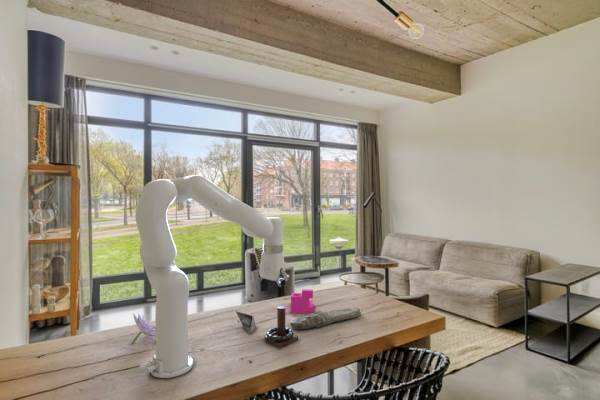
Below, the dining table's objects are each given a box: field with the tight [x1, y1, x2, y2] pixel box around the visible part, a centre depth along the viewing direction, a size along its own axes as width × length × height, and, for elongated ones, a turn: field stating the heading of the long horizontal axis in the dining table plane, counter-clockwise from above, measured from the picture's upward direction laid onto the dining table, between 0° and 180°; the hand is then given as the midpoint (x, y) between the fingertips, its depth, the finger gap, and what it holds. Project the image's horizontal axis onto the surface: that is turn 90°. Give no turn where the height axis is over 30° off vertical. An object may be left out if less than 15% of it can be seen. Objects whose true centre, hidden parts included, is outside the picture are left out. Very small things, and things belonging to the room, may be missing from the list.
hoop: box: [265, 326, 295, 341], centre depth 121 cm, size 10×10×2 cm
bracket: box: [290, 288, 314, 314], centre depth 155 cm, size 12×10×10 cm
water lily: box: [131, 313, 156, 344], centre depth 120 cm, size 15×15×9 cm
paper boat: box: [235, 311, 257, 335], centre depth 131 cm, size 12×6×9 cm
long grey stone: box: [289, 307, 362, 330], centre depth 138 cm, size 35×5×10 cm
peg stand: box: [264, 305, 299, 349], centre depth 121 cm, size 9×9×12 cm
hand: (272, 293), depth 123 cm, fingers open, 9 cm apart
